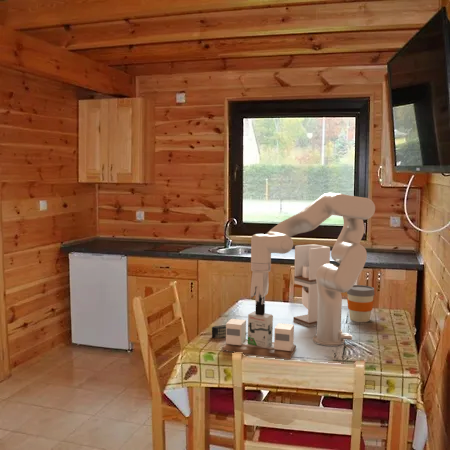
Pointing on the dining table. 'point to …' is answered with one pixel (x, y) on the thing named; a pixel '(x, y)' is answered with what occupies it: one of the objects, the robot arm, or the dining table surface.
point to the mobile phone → (219, 331)
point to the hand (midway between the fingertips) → (260, 314)
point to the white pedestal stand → (309, 278)
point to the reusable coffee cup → (360, 302)
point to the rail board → (260, 350)
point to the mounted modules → (281, 338)
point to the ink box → (260, 329)
